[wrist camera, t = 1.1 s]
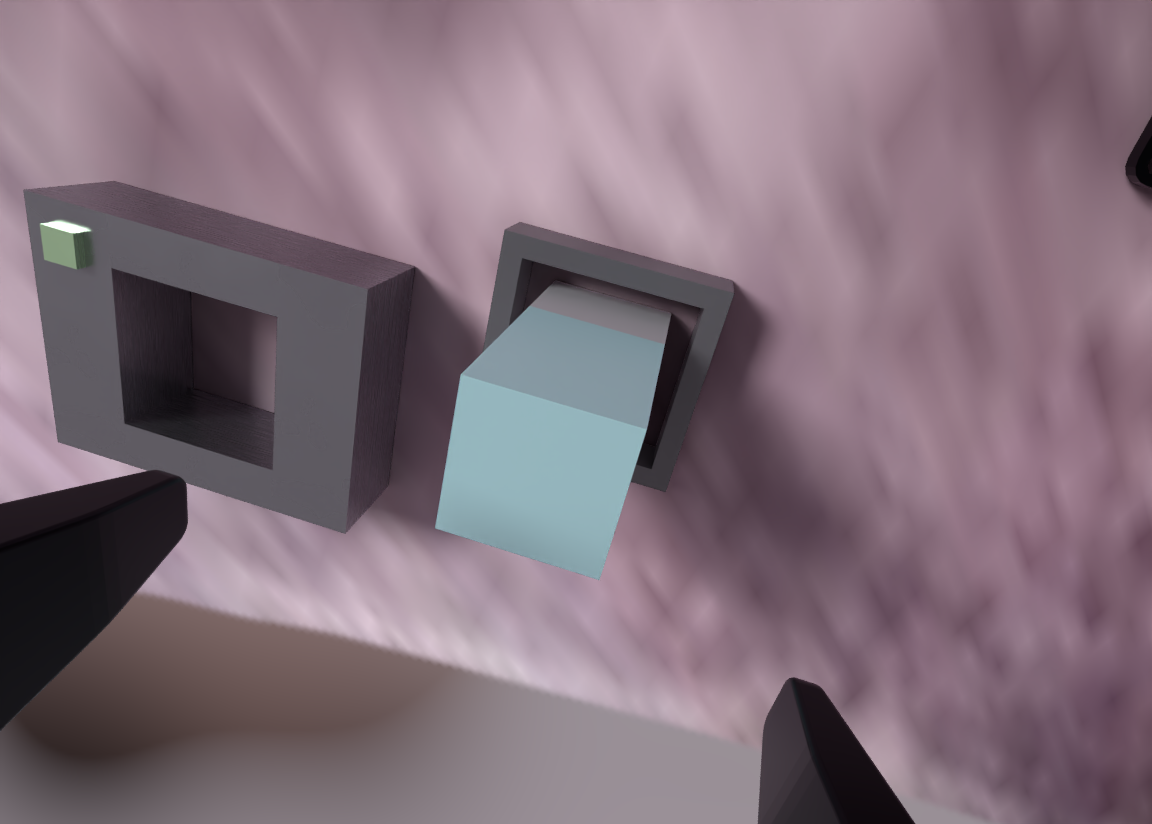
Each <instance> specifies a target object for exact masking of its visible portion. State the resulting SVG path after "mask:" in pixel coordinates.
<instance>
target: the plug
mask: <svg viewBox="0 0 1152 824" xmlns="http://www.w3.org/2000/svg"><path fill="white" fill-rule="evenodd" d="M670 318H671V313H670V312H667V311H663V310H660V309H656V308H652V307H649V306H645V305H642V304H638V303H635V302H631V301H627V300H624V299H620V298H617V297H613V296H610V295H606V294H603V293H599V292H595V291H592V290H588V289H585V288H581V287H578V286H574V285H571V284H567V283H563V282H560V281H556V280H555V281H554V282H553V283H552V284H551V285H550V286H549V287H548V288H547V289H546V290H545V291H544V292H543V293H542V294H541V295H540V296H539V297H538V298H537V299H536V300H535V301H534V302H533V303H532V304H531V305H530V306H529V307H528V308H527V309H526V310H525V311H524V312H523V313H522V314H521V315H520V316H519V317H518V318H517V319H516V320H515V321H514V322H513V323H512V324H511V325H510V326H509V327H508V328H507V329H506V330H505V331H504V332H503V333H502V334H501V335H500V336H499V337H498V338H497V339H496V340H495V341H494V342H493V343H492V344H491V345H490V346H489V347H488V348H487V349H486V350H485V351H484V352H483V353H482V354H481V355H480V356H479V357H478V358H477V359H476V360H475V361H474V362H473V363H472V364H471V365H470V366H469V367H468V368H467V369H466V370H465V371H464V372H463V373H462V374H461V376H460V382H459V388H458V394H457V400H456V406H455V412H454V418H453V424H452V430H451V436H450V442H449V448H448V454H447V460H446V466H445V472H444V478H443V484H442V490H441V496H440V502H439V508H438V514H437V520H436V526H435V528H436V529H439V530H442V531H445V532H448V533H451V534H455V535H458V536H461V537H464V538H467V539H471V540H474V541H477V542H480V543H483V544H486V545H490V546H493V547H496V548H499V549H502V550H505V551H509V552H512V553H515V554H518V555H521V556H525V557H528V558H531V559H534V560H537V561H540V562H544V563H547V564H550V565H553V566H556V567H559V568H563V569H566V570H569V571H572V572H575V573H578V574H582V575H585V576H588V577H591V578H594V579H598V580H600V576H601V573H602V570H603V567H604V564H605V561H606V557H607V554H608V551H609V548H610V545H611V542H612V538H613V535H614V532H615V529H616V526H617V523H618V519H619V516H620V513H621V510H622V507H623V504H624V500H625V497H626V494H627V491H628V488H629V485H630V481H631V478H632V475H633V472H634V469H635V466H636V462H637V459H638V456H639V453H640V450H641V447H642V443H643V440H644V437H645V434H646V431H647V427H648V422H649V417H650V412H651V408H652V403H653V398H654V393H655V389H656V384H657V379H658V374H659V370H660V365H661V360H662V355H663V351H664V346H665V341H666V337H667V332H668V327H669V322H670Z"/></svg>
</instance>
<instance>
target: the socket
mask: <svg viewBox="0 0 1152 824" xmlns="http://www.w3.org/2000/svg"><path fill="white" fill-rule="evenodd" d="M24 198H25V205H26V212H27V220H28V227H29V234H30V242H31V249H32V256H33V263H34V271H35V278H36V285H37V293H38V300H39V307H40V315H41V322H42V329H43V337H44V344H45V351H46V358H47V366H48V373H49V380H50V388H51V395H52V402H53V410H54V417H55V424H56V431H57V439H58V442H60V443H63V444H66V445H69V446H72V447H75V448H78V449H81V450H85V451H88V452H91V453H94V454H97V455H100V456H103V457H107V458H110V459H113V460H116V461H119V462H122V463H125V464H128V465H132V466H135V467H138V468H141V469H144V470H147V471H150V470H161V471H164V472H167V473H170V474H173V475H177V476H179V477H181V478H182V479H184V481H185V483H188V484H191V485H194V486H197V487H201V488H204V489H207V490H210V491H213V492H216V493H219V494H222V495H226V496H229V497H232V498H235V499H238V500H241V501H244V502H248V503H251V504H254V505H257V506H260V507H263V508H266V509H269V510H273V511H276V512H279V513H282V514H285V515H288V516H291V517H295V518H298V519H301V520H304V521H307V522H310V523H313V524H316V525H320V526H323V527H326V528H329V529H332V530H335V531H338V532H342V533H345V534H346V532H347V531H348V530H349V529H350V528H351V527H352V526H353V525H354V524H355V522H356V521H357V520H358V519H359V518H360V517H361V516H362V515H363V513H364V512H365V511H366V510H367V509H368V508H369V507H370V506H371V505H372V503H373V502H374V501H375V500H376V499H377V498H378V497H379V496H380V494H381V493H382V492H383V491H384V490H385V489H386V488H387V487H388V483H389V475H390V467H391V458H392V450H393V442H394V434H395V426H396V418H397V410H398V401H399V393H400V385H401V377H402V369H403V361H404V353H405V344H406V336H407V328H408V320H409V312H410V304H411V296H412V287H413V279H414V271H415V266H411V265H408V264H404V263H401V262H397V261H394V260H390V259H387V258H383V257H380V256H376V255H373V254H369V253H366V252H362V251H359V250H355V249H352V248H348V247H345V246H341V245H337V244H334V243H330V242H327V241H323V240H320V239H316V238H313V237H309V236H306V235H302V234H299V233H295V232H292V231H288V230H285V229H281V228H278V227H274V226H271V225H267V224H264V223H260V222H257V221H253V220H250V219H246V218H242V217H239V216H235V215H232V214H228V213H225V212H221V211H218V210H214V209H211V208H207V207H204V206H200V205H197V204H193V203H190V202H186V201H183V200H179V199H176V198H172V197H169V196H165V195H162V194H158V193H155V192H151V191H148V190H144V189H140V188H137V187H133V186H130V185H126V184H123V183H119V182H116V181H110V182H100V183H89V184H79V185H68V186H58V187H47V188H37V189H26V190H24ZM190 291H191V292H194V293H198V294H201V295H204V296H208V297H211V298H215V299H218V300H221V301H225V302H228V303H231V304H235V305H238V306H242V307H245V308H248V309H252V310H255V311H259V312H262V313H265V314H269V315H272V316H275V317H277V345H276V379H275V412H274V413H271V412H267V411H264V410H261V409H258V408H254V407H251V406H248V405H245V404H241V403H238V402H235V401H232V400H228V399H225V398H222V397H219V396H215V395H212V394H209V393H206V392H202V391H199V390H196V389H193V361H192V329H191V297H190Z"/></svg>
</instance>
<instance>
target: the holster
mask: <svg viewBox="0 0 1152 824" xmlns="http://www.w3.org/2000/svg"><path fill="white" fill-rule="evenodd" d="M533 261H535V262H538V263H542V264H545V265H549V266H552V267H556V268H560V269H563V270H567V271H570V272H574V273H578V274H581V275H585V276H588V277H592V278H595V279H599V280H603V281H606V282H610V283H613V284H617V285H620V286H624V287H628V288H631V289H635V290H638V291H642V292H645V293H649V294H653V295H656V296H660V297H663V298H667V299H671V300H674V301H678V302H681V303H685V304H688V305H692V306H696V307H699V308H701V309H700V312H699V315H698V318H697V321H696V324H695V327H694V330H693V333H692V336H691V340H690V343H689V346H688V349H687V352H686V355H685V358H684V361H683V364H682V367H681V370H680V373H679V376H678V379H677V382H676V385H675V388H674V392H673V395H672V398H671V401H670V404H669V407H668V410H667V413H666V416H665V419H664V422H663V425H662V428H661V431H660V434H659V437H658V441H657V444H656V447H655V446H652V445H648V444H645V443H642V447H641V450H640V453H639V456H638V459H637V462H636V466H635V469H634V472H633V475H632V478H631V482H634V483H637V484H640V485H644V486H647V487H650V488H654V489H657V490H660V491H664V492H666V489H667V486H668V483H669V481H670V478H671V475H672V472H673V469H674V466H675V463H676V460H677V457H678V455H679V452H680V449H681V446H682V443H683V440H684V437H685V434H686V431H687V429H688V426H689V423H690V420H691V417H692V414H693V411H694V408H695V405H696V403H697V400H698V397H699V394H700V391H701V388H702V385H703V382H704V380H705V377H706V374H707V371H708V368H709V365H710V362H711V359H712V356H713V354H714V351H715V348H716V345H717V342H718V339H719V336H720V333H721V330H722V328H723V325H724V322H725V319H726V316H727V313H728V310H729V307H730V304H731V302H732V299H733V296H734V287H733V281H732V280H728V279H725V278H721V277H718V276H714V275H710V274H707V273H703V272H699V271H696V270H692V269H689V268H685V267H681V266H678V265H674V264H670V263H667V262H663V261H660V260H656V259H652V258H649V257H645V256H641V255H638V254H634V253H630V252H627V251H623V250H620V249H616V248H612V247H609V246H605V245H601V244H598V243H594V242H591V241H587V240H583V239H580V238H576V237H572V236H569V235H565V234H561V233H558V232H554V231H551V230H547V229H543V228H540V227H536V226H532V225H529V224H525V223H522V222H519V223H517V224H515V225H513V226H511V227H509V228H507V229H505V231H504V236H503V242H502V248H501V253H500V259H499V264H498V270H497V275H496V281H495V287H494V292H493V298H492V303H491V309H490V315H489V320H488V326H487V331H486V337H485V342H484V348H483V352H484V351H485V350H486V349H487V348H488V347H489V346H490V345H491V344H492V343H493V342H494V341H495V340H496V339H497V338H498V337H499V336H500V335H501V334H502V333H503V332H504V331H505V330H506V329H507V328H508V327H509V326H510V325H511V324H512V323H513V322H514V321H515V320H516V319H517V318H518V317H519V316H520V315H521V314H522V313H523V309H524V304H525V299H526V294H527V289H528V284H529V279H530V274H531V269H532V264H533Z"/></svg>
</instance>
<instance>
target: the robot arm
mask: <svg viewBox="0 0 1152 824" xmlns="http://www.w3.org/2000/svg"><path fill="white" fill-rule="evenodd" d="M1151 159H1152V117H1151V119H1150V120H1149V122H1148V124H1147V126H1146V127H1145V129H1144V131H1143V133H1142V134H1141V136H1140V138H1139V140H1138V141H1137V143H1136V145H1135V147H1134V149H1133V150H1132V152H1131V154H1130V156H1129V157H1128V160H1127V163H1126V166H1125V169H1126V176H1127V177H1128V179H1129V180H1130V181H1131V182H1133V183H1135V184H1137V185H1139V186H1143V187H1147V188H1151V189H1152V174H1151V173H1149V170H1148V164H1149V161H1150V160H1151ZM187 524H188V511H187V486H186V483H185V481H184V479H182V478H181V477H179V476H177V475H173V474H170V473H167V472H164V471H161V470H150V471H145V472H141V473H136V474H132V475H127V476H123V477H118V478H114V479H110V480H105V481H101V482H96V483H92V484H87V485H83V486H78V487H74V488H69V489H65V490H60V491H56V492H51V493H47V494H42V495H38V496H33V497H29V498H24V499H20V500H15V501H11V502H6V503H2V504H0V731H1V730H2V729H3V728H4V727H5V726H6V725H7V724H8V723H9V722H10V721H11V720H12V719H13V718H14V717H15V716H16V715H17V714H18V713H19V712H20V711H21V710H22V709H23V708H24V707H25V706H26V705H27V704H28V703H29V702H30V701H31V700H32V699H33V698H34V697H35V696H36V695H38V694H39V693H40V692H41V691H42V690H43V688H45V687H46V686H47V685H48V684H49V683H50V682H51V681H52V680H53V679H54V678H55V677H56V676H57V675H58V674H59V673H60V672H61V671H62V670H63V669H64V668H65V667H66V666H67V665H68V664H69V663H70V662H71V661H72V660H73V659H74V658H75V657H76V656H77V655H78V654H79V653H80V652H81V651H82V650H83V649H84V648H85V647H86V646H87V645H88V644H89V643H90V642H91V641H92V640H94V638H96V637H97V635H98V634H99V633H100V632H101V631H102V630H103V629H104V628H105V627H106V626H107V625H108V624H109V623H110V622H111V621H112V620H113V619H114V617H115V616H116V615H117V614H118V613H119V612H120V611H121V609H123V607H124V606H125V605H126V604H127V603H128V602H129V600H130V599H131V598H132V597H133V596H134V594H135V593H136V592H137V591H138V590H139V588H140V587H141V586H142V585H143V584H144V583H145V581H146V580H147V579H148V578H149V577H150V575H151V574H152V573H153V572H154V571H155V569H156V568H157V567H158V566H159V565H160V564H161V562H162V561H163V560H164V559H165V558H166V556H167V555H168V554H169V553H170V552H171V551H172V549H173V548H174V547H175V546H176V545H177V543H178V542H179V541H180V540H181V538H182V537H183V535H184V533H185V531H186V528H187ZM758 824H915V823H914V821H913V820H912V818H911V817H910V816H909V814H908V813H907V811H906V810H905V808H904V807H903V805H902V804H901V802H900V801H899V799H898V798H897V796H896V795H895V793H894V792H893V791H892V789H891V788H890V786H889V785H888V783H887V782H886V780H885V779H884V777H883V776H882V775H881V773H880V772H879V770H878V769H877V767H876V766H875V764H874V763H873V761H872V760H871V759H870V757H869V756H868V754H867V753H866V751H865V750H864V748H863V747H862V745H861V744H860V743H859V741H858V740H857V738H856V737H855V735H854V734H853V732H852V731H851V729H850V728H849V727H848V725H847V724H846V722H845V721H844V719H843V718H842V716H841V715H840V713H839V712H838V711H837V709H836V708H835V706H834V705H833V703H832V702H831V700H830V699H829V697H828V696H827V695H826V693H825V692H824V690H823V689H822V688H821V687H820V686H818V685H816V684H813V683H810V682H807V681H804V680H801V679H798V678H794V677H793V678H789V679H788V680H787V681H786V682H785V684H784V685H783V687H782V689H781V691H780V693H779V695H778V697H777V698H776V700H775V702H774V704H773V706H772V708H771V710H770V711H769V713H768V715H767V718H766V721H765V724H764V729H763V741H762V759H761V777H760V794H759V812H758Z"/></svg>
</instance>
